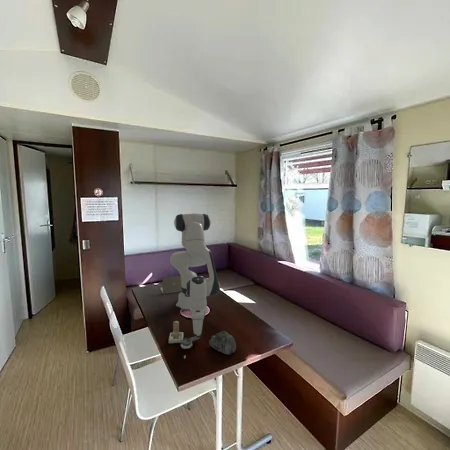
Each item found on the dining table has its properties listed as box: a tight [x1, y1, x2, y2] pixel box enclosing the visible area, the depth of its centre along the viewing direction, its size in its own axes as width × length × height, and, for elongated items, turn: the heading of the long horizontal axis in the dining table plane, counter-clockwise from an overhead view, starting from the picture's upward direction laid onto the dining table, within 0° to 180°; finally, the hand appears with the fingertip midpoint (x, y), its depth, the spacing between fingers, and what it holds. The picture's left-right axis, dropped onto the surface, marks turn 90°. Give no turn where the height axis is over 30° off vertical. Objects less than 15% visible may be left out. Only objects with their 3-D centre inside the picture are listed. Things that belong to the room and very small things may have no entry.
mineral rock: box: [208, 330, 237, 356], centre depth 129 cm, size 13×11×10 cm
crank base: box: [180, 341, 193, 359], centre depth 129 cm, size 14×6×1 cm, turn 4°
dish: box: [168, 331, 184, 344], centre depth 138 cm, size 7×7×2 cm
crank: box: [182, 333, 202, 346], centre depth 134 cm, size 10×4×6 cm, turn 124°
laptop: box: [159, 275, 181, 295], centre depth 210 cm, size 18×12×13 cm
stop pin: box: [172, 320, 180, 339], centre depth 137 cm, size 3×3×9 cm
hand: (198, 333), depth 136 cm, fingers closed on crank, 2 cm apart
